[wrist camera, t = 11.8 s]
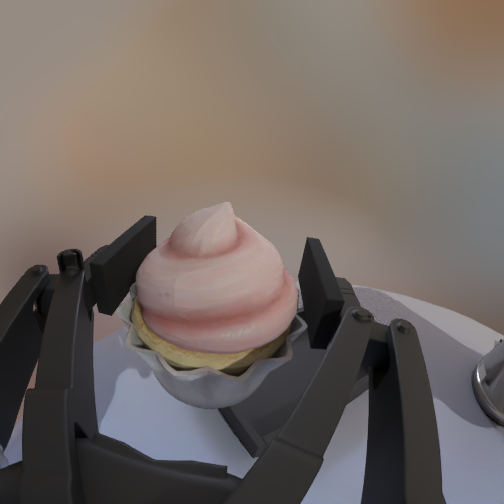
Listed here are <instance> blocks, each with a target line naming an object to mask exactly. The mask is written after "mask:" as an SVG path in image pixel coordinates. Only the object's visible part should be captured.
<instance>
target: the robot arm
mask: <svg viewBox="0 0 504 504" xmlns="http://www.w3.org/2000/svg"><path fill="white" fill-rule="evenodd" d="M155 248H156V217H153V216H144V217H143V218H142V219H140V220H139V221H138V222H137V223H135V224H134V225H133V226H132V227H130V228H129V229H128V230H127V231H126V232H124V233H123V234H122V235H121V236H120V237H118V238H117V239H116V240H115V241H114V242H112V244H110V245H105V246H103V247H101V248H99V249H98V250H97V251H95V252H94V254H92V255H91V256H90V257H88V258H87V259H86V260H85V261H84V262H83V257H82V252H81V251H80V250H78V249H69V250H65V251H62V252H61V253H59V254H58V255H57V260H58V265H59V270H60V274H49V272H48V268H47V266H45V265H35V266H33V267H31V268H30V269H28V270H27V271H26V272H25V274H24V275H23V276H22V277H21V278H20V280H19V281H18V282H17V283H16V285H15V286H14V287H13V288H12V290H11V291H10V292H9V293H8V295H7V296H6V297H5V299H4V300H3V302H2V303H1V304H0V504H300V503H301V502H302V500H303V498H304V497H305V495H306V493H307V491H308V490H309V488H310V486H311V484H312V483H313V481H314V479H315V477H316V475H317V473H318V472H319V470H320V468H321V465H322V463H323V460H324V459H323V455H324V453H325V451H326V449H327V446H328V444H329V442H330V440H331V438H332V436H333V434H334V432H335V429H336V427H337V425H338V423H339V420H340V418H341V416H342V413H343V411H344V408H345V406H346V403H347V401H348V398H349V396H350V393H351V391H352V388H353V385H354V383H355V380H356V377H357V374H358V371H359V369H360V366H361V365H365V366H368V370H369V417H368V440H367V455H366V466H365V476H364V485H363V492H362V499H361V504H446V502H445V499H444V496H443V493H442V472H441V457H440V446H439V437H438V430H437V422H436V416H435V410H434V404H433V398H432V393H431V388H430V383H429V379H428V374H427V370H426V366H425V361H424V357H423V353H422V350H421V346H420V342H419V339H418V335H417V332H416V329H415V327H414V326H413V325H412V324H411V323H410V322H408V321H406V320H403V319H393V320H392V321H391V323H390V325H389V326H387V325H383V324H380V323H377V322H374V317H373V315H372V314H371V313H370V312H369V311H368V310H366V309H364V308H361V306H360V303H359V301H358V299H357V297H356V295H355V292H354V291H353V288H352V286H351V284H350V283H349V282H348V281H347V280H346V279H345V278H338V277H335V275H334V273H333V271H332V268H331V266H330V263H329V261H328V259H327V256H326V254H325V252H324V249H323V247H322V245H321V242H320V240H319V239H315V238H309V237H307V241H306V245H305V249H304V253H303V258H302V262H301V266H300V271H299V275H298V278H299V284H300V289H301V295H302V301H303V306H304V312H305V318H306V324H307V326H308V327H307V330H308V337H309V343H310V349H324V350H326V349H327V346H328V344H329V342H331V343H330V345H329V347H328V349H327V351H326V353H325V355H324V357H323V358H322V360H321V362H320V364H319V366H318V368H317V370H316V371H315V373H314V375H313V377H312V378H311V380H310V382H309V384H308V385H307V387H306V389H305V391H304V392H303V394H302V396H301V397H300V399H299V401H298V402H297V404H296V406H295V407H294V409H293V410H292V412H291V414H290V415H289V417H288V418H287V420H286V421H285V423H284V425H283V426H282V428H281V429H280V431H279V432H278V434H277V435H276V436H275V437H274V438H273V439H272V440H271V442H270V443H269V444H268V446H267V447H266V448H265V450H264V451H263V453H262V454H261V455H260V457H259V458H258V460H257V461H256V462H255V464H254V465H253V466H252V468H251V469H250V470H249V471H248V473H247V474H246V475H245V477H244V478H243V479H241V478H239V477H236V476H234V475H231V474H229V473H227V466H222V465H215V464H209V463H203V462H197V461H168V460H155V459H152V458H150V457H148V456H146V455H145V454H143V453H141V452H139V451H138V450H136V449H134V448H132V447H131V446H129V445H127V444H126V443H124V442H121V441H118V440H116V439H113V438H110V437H108V436H105V435H102V434H100V433H99V431H98V425H97V416H96V406H95V393H94V373H93V327H94V313H93V306H94V305H95V304H96V303H97V307H98V311H99V313H103V314H107V315H111V316H112V314H113V313H114V312H115V310H116V309H117V308H118V306H119V305H120V303H121V302H122V301H123V299H124V298H125V297H126V295H127V294H128V292H129V289H130V287H131V286H132V284H134V283H135V282H136V274H137V271H138V269H139V267H140V266H141V264H142V262H143V261H144V259H145V258H146V256H147V255H148V254H149V253H150V252H151V251H153V250H154V249H155ZM33 305H35V308H36V309H35V311H33ZM38 359H39V361H38ZM37 361H38V367H37V374H36V383H35V388H34V389H28V390H27V391H26V389H27V386H28V383H29V381H30V378H31V376H32V373H33V371H34V368H35V366H36V363H37ZM472 384H473V389H474V392H475V395H476V398H477V400H478V402H479V403H480V405H481V407H482V408H483V410H484V411H485V412H486V413H487V414H488V416H489V417H490V418H492V419H493V420H494V421H495V422H497V423H498V424H500V425H502V426H504V340H503V341H502V339H501V340H500V344H499V345H497V346H496V347H495V348H494V349H493V350H492V351H490V352H489V353H488V354H487V355H486V356H484V357H483V358H482V359H481V360H480V362H479V363H478V365H477V366H476V367H475V369H474V371H473V375H472ZM25 391H26V394H25ZM24 394H25V400H24V412H23V430H22V459H23V460H22V461H19V462H17V463H14V464H12V465H9V466H8V459H7V458H6V457H5V456H4V450H5V448H6V447H7V444H8V442H9V440H10V437H11V434H12V431H13V428H14V425H15V422H16V418H17V415H18V412H19V409H20V406H21V403H22V400H23V397H24Z"/></svg>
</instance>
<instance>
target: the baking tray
mask: <svg viewBox="0 0 504 504" xmlns="http://www.w3.org/2000/svg"><path fill="white" fill-rule="evenodd" d="M296 314H297V315H298V316H299V317H300V318H302V319H303V320H304V321H305V323H306V318H305V312H304V307H302V308H299V309H297V312H296ZM330 343H331V342H329V344H328V346H327V349H328V347H329V345H330ZM291 346H292V352H293V354H292V358H291V360H289V361H287V362H286V363H284V364H282V365H281V366H279V367H277V368H275V369H274V370H272V371H270V372H268V374H267V376H266V377H265V378H264V380H263V381H262V383H261V384H260V385H259V387H258V388H257V389H256V390H255V391H254V392H253V393H252V394H251V395H250V396H249V397H247V398H246V399H244V400H243V401H241V402H239V403H237V404H235V405H231V406H228V407H223V408H219V409H220V410H221V412H222V413H223V415H224V416H225V418H226V420H227V421H228V423H229V424H230V426H231V427H232V429H233V430H234V431H235V433H236V434H237V436H238V437H239V439H240V440H241V442H242V443H243V444H244V446H245V447H246V449H247V450H248V451H249V453H250V454H251V455H252V457H253V458H255V457H258V456H260V455H261V454H262V453H263V451H264V450H265V448H266V447H267V446H268V444H269V443H270V442H271V440H272V439H273V438H274V437H275V436H276V435H277V434H278V432H279V431H280V429H281V428H282V426H283V425H284V423H285V421H286V420H287V418H288V417H289V415H290V414H291V412H292V410H293V409H294V407H295V406H296V404H297V402H298V401H299V399H300V397H301V396H302V394H303V392H304V391H305V389H306V387H307V385H308V384H309V382H310V380H311V378H312V377H313V375H314V373H315V371H316V370H317V368H318V366H319V364H320V362H321V360H322V358H323V357H324V355H325V353H326V351H327V349H326V350H324V349H310V343H309V337H308V330H307V328H306V329H305V330H304V331H303V332H302V333H301V334H300V335H299V336H298V337H297V338H296V339H295V340H294V341H293V342H292V343H291ZM368 388H369V370H368V366H365V365H361V366H360V369H359V371H358V374H357V377H356V380H355V383H354V385H353V388H352V391H351V393H350V396H349V398H348V401H347V403H346V405H347V404H348V403H350V402H351V401H352V400H354V399H355V398H356V397H358V396H359V395H361V394H362V393H363V392H365V391H366V390H367V389H368Z"/></svg>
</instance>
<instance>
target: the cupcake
mask: <svg viewBox="0 0 504 504" xmlns="http://www.w3.org/2000/svg"><path fill="white" fill-rule="evenodd" d="M129 291H130V294H131V298H130V299H129V300H127V301H126V302H125V303H123V304H122V305H121V306H120V307H119V308H118V309H117V311H116V312H117V313H118V315H119V316H120V318H121V319H122V321H123V322H124V323H125V325H126V326H127V327H128V329H129V332H128V335H127V338H126V346H127V347H128V348H129V349H130V350H132V351H133V352H134V353H135V354H136V355H138V356H139V357H140V358H142V359H143V360H144V361H145V362H147V363H148V364H149V365H150V367H151V369H152V371H153V373H154V374H155V376H156V378H157V380H158V381H159V382H160V384H161V385H162V387H163V388H164V389H165V390H166V391H167V392H168V393H169V394H171V395H172V396H173V397H174V398H176V399H177V400H179V401H181V402H184V403H186V404H189V405H191V406H195V407H199V408H205V409H215V408H223V407H228V406H231V405H235V404H237V403H239V402H241V401H243V400H244V399H246V398H247V397H249V396H250V395H251V394H252V393H253V392H254V391H255V390H256V389H257V388H258V387H259V385H260V384H261V383H262V381H263V380H264V378H265V377H266V376H267V374H268V372H270V371H272V370H274V369H275V368H277V367H279V366H281V365H282V364H284V363H286V362H287V361H289V360H291V358H292V354H293V352H292V346H291V343H292V342H293V341H294V340H295V339H296V338H297V337H298V336H299V335H300V334H301V333H302V332H303V331H304V330H305V329H306V328H307V327H308V326H307V324H306V323H305V321H304V320H303V319H302V318H300V317H299V316H298V315H297V314H296V312H297V308H298V297H299V294H298V289H297V287H296V284H295V282H294V280H293V279H292V277H291V276H290V275H289V273H288V272H287V271H286V269H285V268H284V267H283V266H282V261H281V258H280V255H279V253H278V251H277V249H276V248H275V247H274V246H273V245H272V244H271V243H270V242H269V241H267V240H266V239H265V238H264V237H262V236H261V235H260V234H259V233H257V232H256V231H255V230H254V229H252V228H251V227H250V226H249V225H248V224H246V223H245V222H244V221H242V220H240V219H239V218H237V217H236V216H234V212H233V209H232V206H231V203H230V202H223V203H221V204H218V205H214V206H212V207H208V208H204V209H200V210H197V211H196V212H194V213H193V214H191V215H190V216H188V217H186V218H184V219H183V220H182V221H181V222H180V223H179V225H178V226H177V227H176V229H175V230H174V231H173V233H172V235H171V237H170V238H169V239H167V240H165V241H164V242H162V243H161V244H160V245H159V246H157V247H156V248H155V249H154V250H153V251H151V252H150V253H149V254H148V255H147V256H146V258H145V259H144V261H143V262H142V264H141V266H140V267H139V269H138V271H137V274H136V282H135V283H134V284H132V286H131V287H130V289H129Z"/></svg>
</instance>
